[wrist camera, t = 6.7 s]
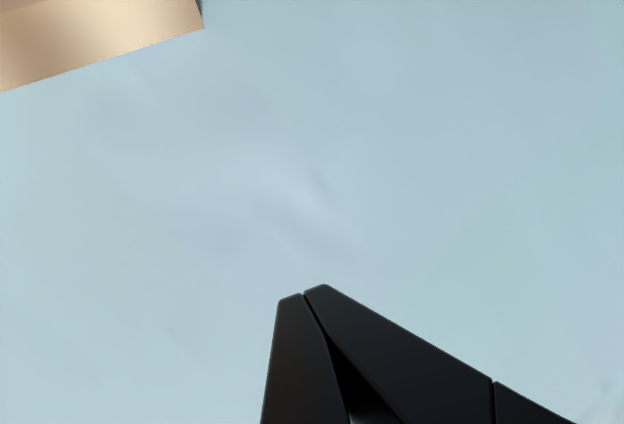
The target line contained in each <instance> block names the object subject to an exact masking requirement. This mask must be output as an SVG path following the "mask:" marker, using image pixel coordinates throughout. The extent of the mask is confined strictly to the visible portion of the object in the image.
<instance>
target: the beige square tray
mask: <svg viewBox="0 0 624 424" xmlns="http://www.w3.org/2000/svg"><path fill="white" fill-rule="evenodd" d="M203 28H205V27H204V24H203V21H202V18H201V15H200V12H199V9H198V7H197V4H196V1H195V0H0V93H1V92H4V91H8V90H11V89H14V88H17V87H20V86H23V85H26V84H30V83H33V82H36V81H39V80H42V79H45V78H48V77H52V76H55V75H58V74H61V73H64V72H67V71H71V70H74V69H77V68H80V67H83V66H86V65H89V64H93V63H96V62H99V61H102V60H105V59H108V58H111V57H115V56H118V55H121V54H124V53H127V52H130V51H133V50H137V49H140V48H143V47H146V46H149V45H152V44H156V43H159V42H162V41H165V40H168V39H171V38H174V37H178V36H181V35H184V34H187V33H190V32H193V31H196V30H200V29H203Z"/></svg>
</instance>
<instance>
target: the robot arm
mask: <svg viewBox="0 0 624 424" xmlns="http://www.w3.org/2000/svg"><path fill="white" fill-rule="evenodd" d="M260 424H576V423H574V422H572V421H570V420H568V419H566V418H564V417H562V416H560V415H558V414H556V413H554V412H552V411H550V410H548V409H546V408H545V407H543V406H541V405H539V404H537V403H535V402H533V401H532V400H530V399H528V398H526V397H524V396H522V395H520V394H519V393H517V392H515V391H513V390H512V389H510V388H508V387H506V386H505V385H503V384H501V383H499V382H498V381H495V382H494V383H493V381H492V379H491V378H490V377H488V376H487V375H485V374H483V373H481V372H480V371H478V370H476V369H474V368H473V367H471V366H469V365H467V364H466V363H464V362H462V361H460V360H459V359H457V358H455V357H453V356H452V355H450V354H448V353H446V352H445V351H443V350H441V349H439V348H438V347H436V346H434V345H432V344H431V343H429V342H427V341H425V340H424V339H422V338H420V337H418V336H417V335H415V334H413V333H411V332H410V331H408V330H406V329H404V328H403V327H401V326H399V325H397V324H395V323H394V322H392V321H390V320H388V319H387V318H385V317H383V316H381V315H380V314H378V313H376V312H374V311H373V310H371V309H369V308H367V307H366V306H364V305H362V304H360V303H359V302H357V301H355V300H353V299H352V298H350V297H348V296H346V295H345V294H343V293H341V292H339V291H338V290H336V289H334V288H332V287H331V286H329V285H327V284H321V285H319V286H316V287H313V288H310V289H308V290H305V291H304V293H303V295H302V294H301V293H297V294H294V295H291V296H289V297H286V298H283V299H281V300H280V301H279V302H278V306H277V313H276V319H275V326H274V333H273V339H272V346H271V353H270V359H269V366H268V373H267V379H266V386H265V393H264V399H263V406H262V413H261V419H260Z"/></svg>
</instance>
